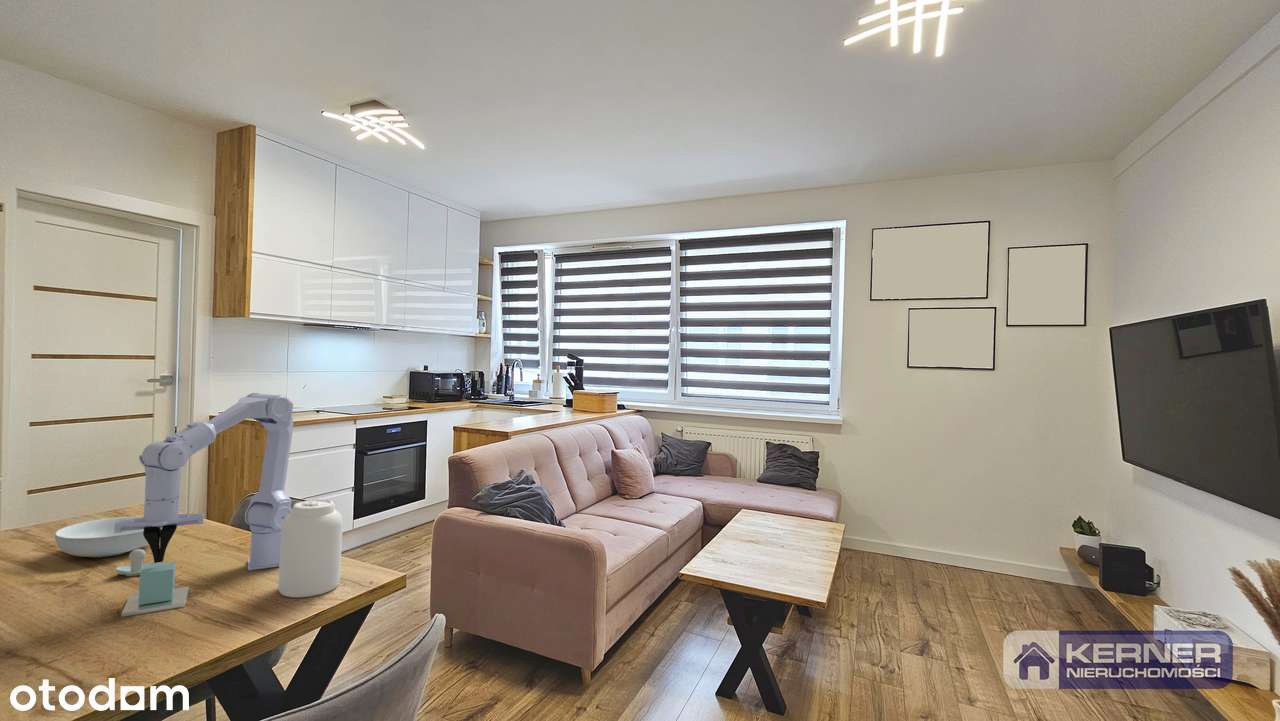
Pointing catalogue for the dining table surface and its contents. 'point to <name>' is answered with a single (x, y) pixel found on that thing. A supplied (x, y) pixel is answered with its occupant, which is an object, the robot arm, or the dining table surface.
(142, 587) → the teal block
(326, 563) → the white jar
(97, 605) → the dining table surface
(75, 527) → the serving bowl
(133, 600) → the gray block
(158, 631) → the dining table surface
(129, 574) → the pacifier
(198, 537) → the dining table surface
